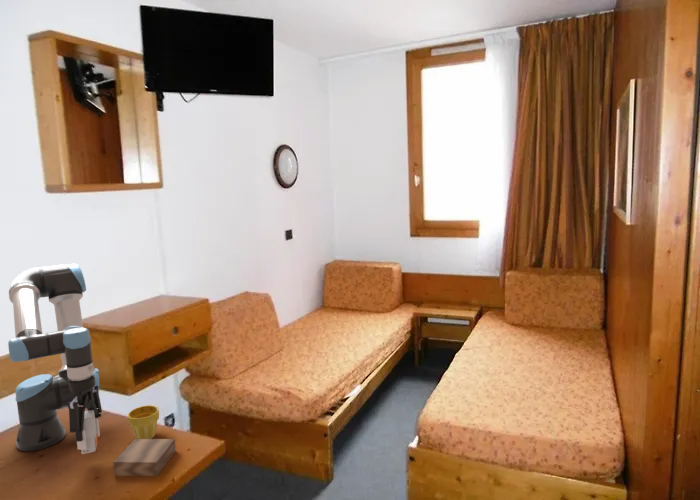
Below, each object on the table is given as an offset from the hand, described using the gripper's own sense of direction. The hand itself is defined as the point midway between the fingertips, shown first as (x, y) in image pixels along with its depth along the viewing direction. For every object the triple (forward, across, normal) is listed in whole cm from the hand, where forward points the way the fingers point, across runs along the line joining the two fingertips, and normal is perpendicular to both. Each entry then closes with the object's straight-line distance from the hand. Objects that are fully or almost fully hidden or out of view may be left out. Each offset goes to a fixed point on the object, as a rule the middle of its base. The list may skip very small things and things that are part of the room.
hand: (89, 442), depth 163 cm
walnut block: (+8, +1, -18) cm, 20 cm away
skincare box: (+2, 0, 0) cm, 2 cm away
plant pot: (+8, +18, -10) cm, 22 cm away
